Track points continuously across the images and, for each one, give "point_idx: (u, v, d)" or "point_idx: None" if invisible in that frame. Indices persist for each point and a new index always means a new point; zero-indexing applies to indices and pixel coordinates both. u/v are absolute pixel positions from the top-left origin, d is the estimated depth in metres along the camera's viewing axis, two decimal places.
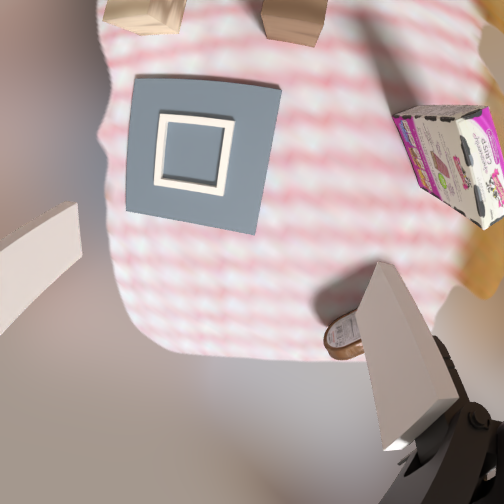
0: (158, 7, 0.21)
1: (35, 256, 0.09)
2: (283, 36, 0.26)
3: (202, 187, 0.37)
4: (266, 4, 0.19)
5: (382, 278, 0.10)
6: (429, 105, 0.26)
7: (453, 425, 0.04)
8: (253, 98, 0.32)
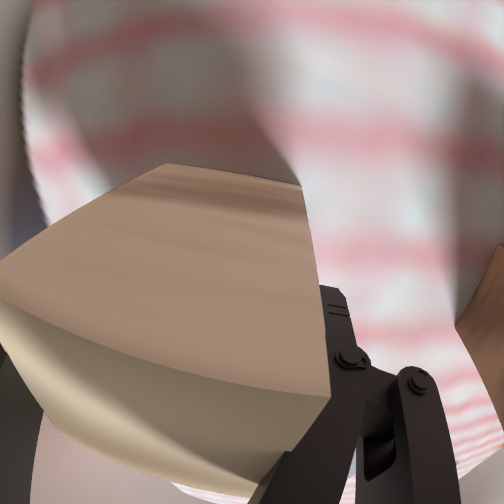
0: None
1: None
2: None
3: None
4: None
5: None
6: None
7: None
8: None
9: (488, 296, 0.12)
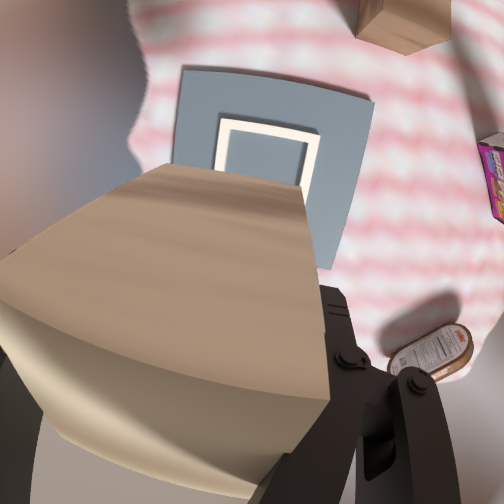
0: None
1: None
2: (380, 38, 0.20)
3: None
4: None
5: None
6: None
7: None
8: (342, 109, 0.25)
9: (360, 10, 0.19)
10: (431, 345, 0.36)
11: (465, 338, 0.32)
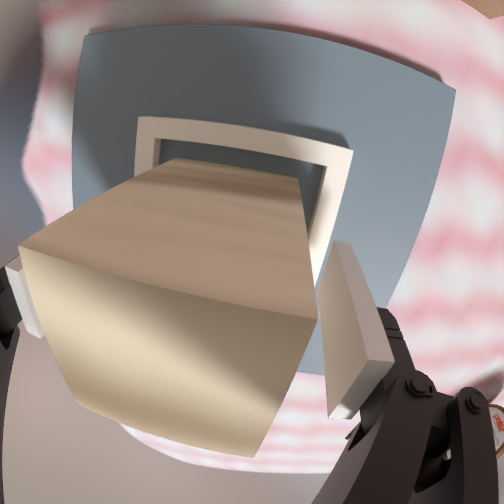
0: None
1: None
2: None
3: None
4: None
5: (335, 254, 0.11)
6: None
7: (389, 394, 0.05)
8: (398, 95, 0.11)
9: None
10: None
11: None
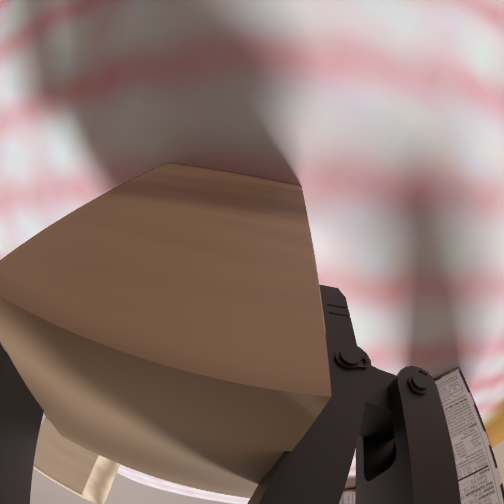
0: (105, 486, 0.16)
1: None
2: None
3: None
4: (56, 423, 0.05)
5: None
6: (473, 408, 0.12)
7: None
8: None
9: None
10: None
11: None
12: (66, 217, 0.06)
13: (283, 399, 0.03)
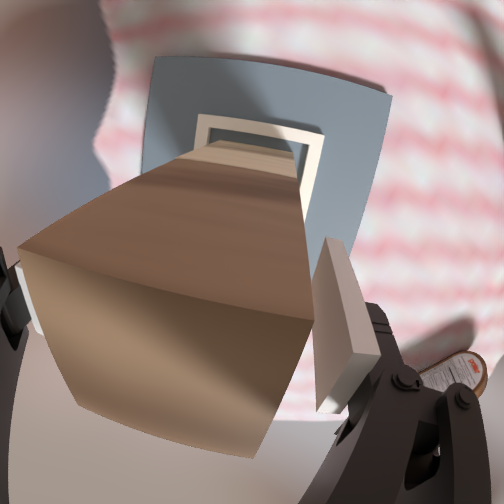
0: None
1: None
2: None
3: None
4: (75, 388, 0.07)
5: (326, 250, 0.11)
6: None
7: (374, 388, 0.05)
8: (353, 102, 0.19)
9: None
10: (442, 376, 0.30)
11: (479, 369, 0.26)
12: (93, 200, 0.07)
13: (277, 323, 0.04)
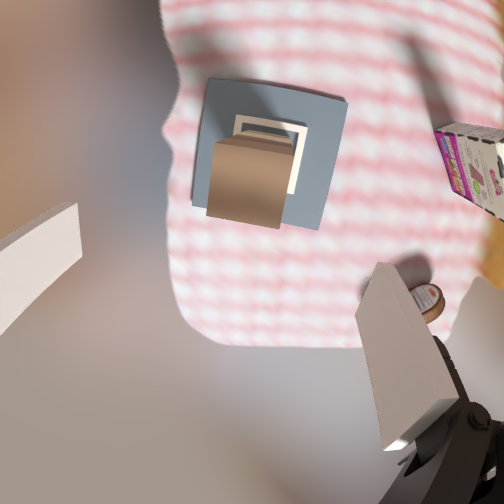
0: None
1: (35, 256, 0.09)
2: None
3: None
4: (211, 201, 0.23)
5: (382, 278, 0.10)
6: (465, 124, 0.30)
7: (453, 425, 0.04)
8: (324, 108, 0.35)
9: None
10: None
11: (436, 294, 0.42)
12: (224, 139, 0.23)
13: (286, 157, 0.20)
